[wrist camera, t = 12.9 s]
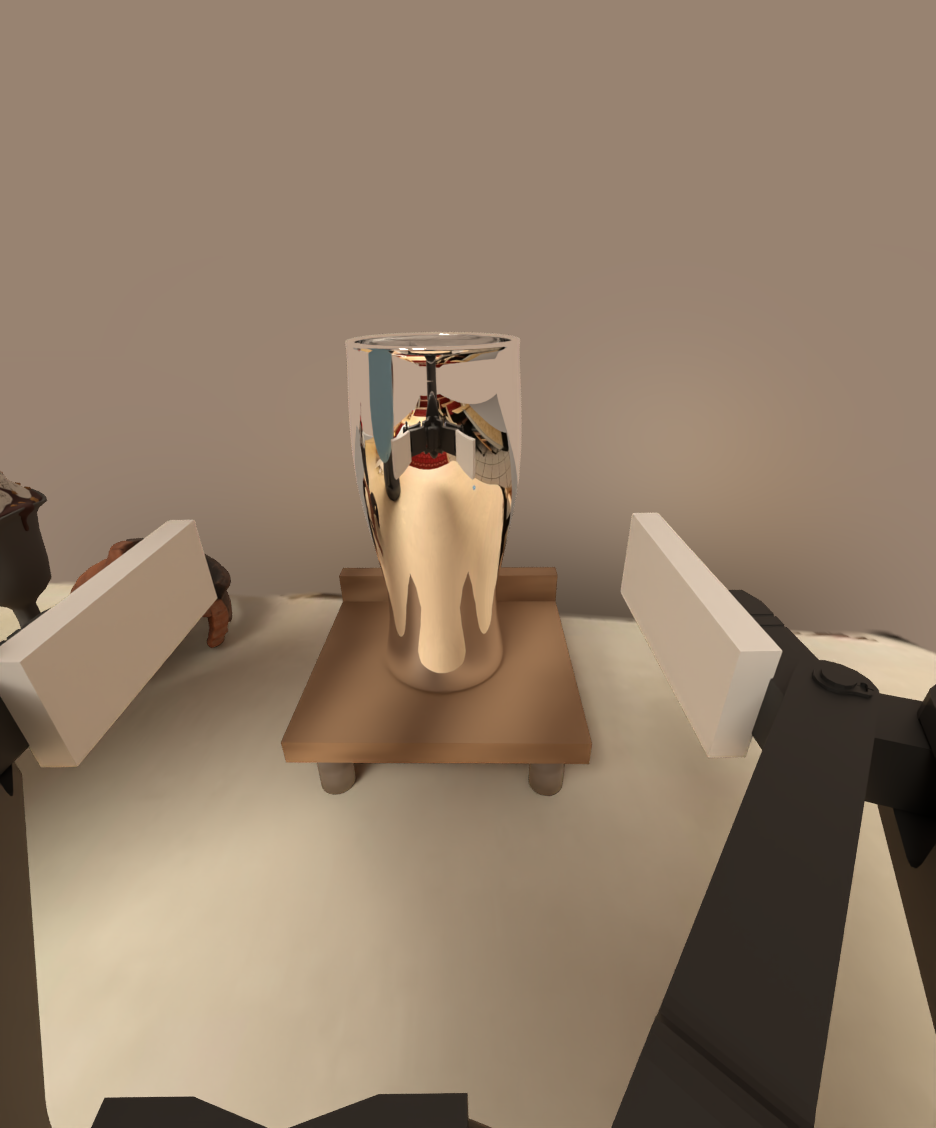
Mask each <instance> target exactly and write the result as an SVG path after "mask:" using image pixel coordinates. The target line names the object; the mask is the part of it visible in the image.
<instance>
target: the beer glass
mask: <svg viewBox="0 0 936 1128" xmlns="http://www.w3.org/2000/svg"><path fill="white" fill-rule="evenodd" d="M345 345H346V353H347V372H348V401H349V402H348V403H349V423H350V434H351V444H352V454H353V460H354V467H355V474H356V480H357V486H358V490H359V494H360V499H361V502H362V506H363V511H364V515H365V518H366V521H367V524H368V528H369V531H370V534H371V538H372V541H373V544H374V548H375V551H376V554H377V557H378V560H379V563H380V567H381V570H382V574H383V577H384V581H385V584H386V589H387V595H388V601H389V614H390V616H389V631H388V639H387V646H386V661H387V664H388V667H389V669H390V671H391V672H392V673H393V675H394V676H395V677H396V678H397V679H399V680H400V681H401V682H403V683H405V684H406V685H408V686H411V687H413V688H416V689H419V690H423V691H428V692H436V693H447V692H456V691H461V690H465V689H469V688H471V687H474V686H476V685H478V684H480V683H482V682H484V681H485V680H487V679H488V678H490V677H491V676H492V675H493V674H494V673H495V672H496V670H497V669H498V668H499V666H500V664H501V661H502V658H503V640H502V635H501V630H500V624H499V619H498V612H497V589H498V580H499V575H500V570H501V565H502V560H503V556H504V551H505V547H506V543H507V538H508V534H509V529H510V525H511V520H512V516H513V511H514V506H515V500H516V494H517V488H518V482H519V471H520V457H521V428H522V410H521V381H520V354H519V351H520V348H519V347H520V339H519V338H517V337H515V336H510V335H503V334H492V333H473V332H471V333H470V332H417V333H393V334H380V335H368V336H361V337H355V338H350V339H348V340H346V341H345Z"/></svg>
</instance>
